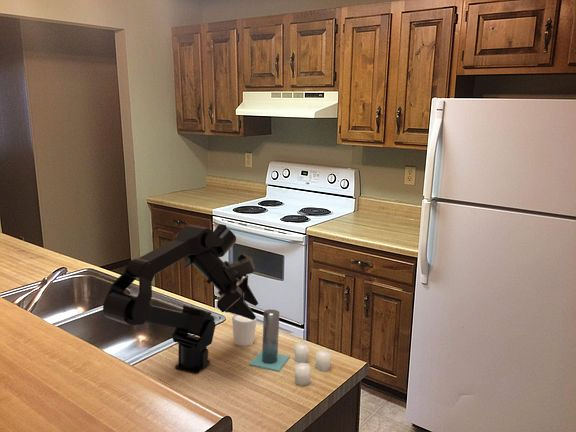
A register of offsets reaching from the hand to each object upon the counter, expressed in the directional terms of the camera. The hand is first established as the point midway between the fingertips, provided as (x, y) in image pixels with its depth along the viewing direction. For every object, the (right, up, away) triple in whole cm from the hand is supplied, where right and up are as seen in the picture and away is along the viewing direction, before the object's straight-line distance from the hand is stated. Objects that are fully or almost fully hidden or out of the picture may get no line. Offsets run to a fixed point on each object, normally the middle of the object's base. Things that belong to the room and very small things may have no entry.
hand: (255, 311), depth 124 cm
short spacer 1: (+12, -14, +4) cm, 18 cm away
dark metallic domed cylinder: (+3, -13, +3) cm, 14 cm away
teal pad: (+3, -13, +3) cm, 14 cm away
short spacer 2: (+12, -16, -6) cm, 21 cm away
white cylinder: (-4, -11, +14) cm, 18 cm away
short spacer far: (+17, -15, +1) cm, 22 cm away
